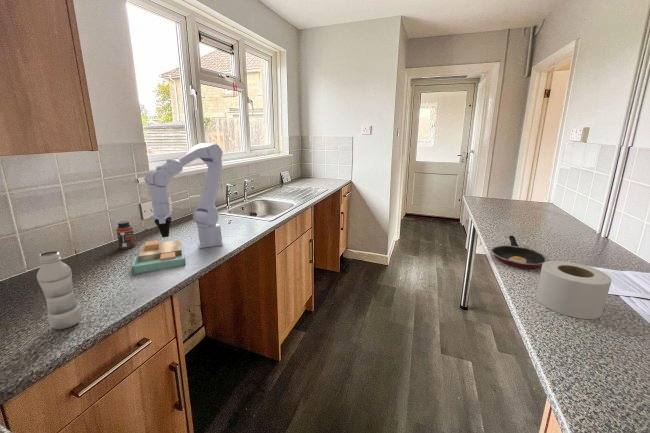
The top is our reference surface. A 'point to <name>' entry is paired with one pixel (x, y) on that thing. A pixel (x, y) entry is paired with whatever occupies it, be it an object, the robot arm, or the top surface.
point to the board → (160, 250)
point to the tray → (157, 264)
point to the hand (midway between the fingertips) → (165, 236)
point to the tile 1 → (152, 245)
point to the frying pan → (518, 255)
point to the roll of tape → (573, 289)
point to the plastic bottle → (58, 291)
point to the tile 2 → (168, 256)
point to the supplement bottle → (125, 235)
